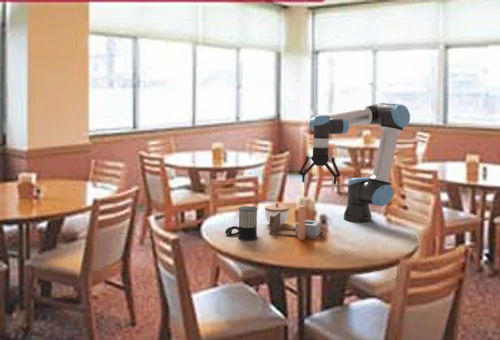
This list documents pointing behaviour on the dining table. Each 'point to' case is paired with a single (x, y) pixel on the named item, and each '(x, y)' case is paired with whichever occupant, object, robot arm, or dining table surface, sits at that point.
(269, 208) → the lidded bowl
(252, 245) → the dining table surface
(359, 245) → the dining table surface
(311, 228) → the block
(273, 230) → the track
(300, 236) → the dowel
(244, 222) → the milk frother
